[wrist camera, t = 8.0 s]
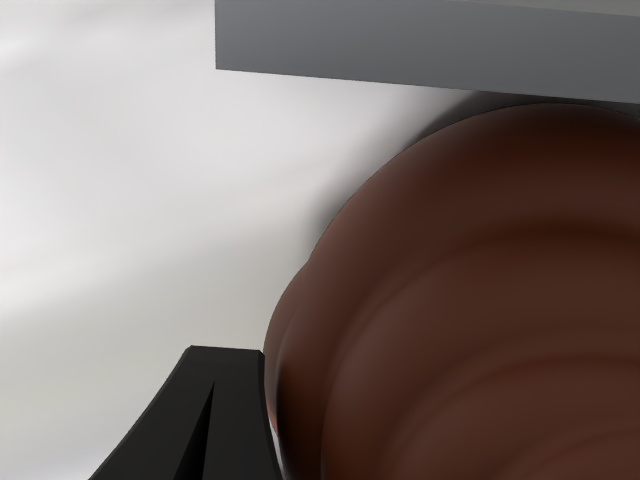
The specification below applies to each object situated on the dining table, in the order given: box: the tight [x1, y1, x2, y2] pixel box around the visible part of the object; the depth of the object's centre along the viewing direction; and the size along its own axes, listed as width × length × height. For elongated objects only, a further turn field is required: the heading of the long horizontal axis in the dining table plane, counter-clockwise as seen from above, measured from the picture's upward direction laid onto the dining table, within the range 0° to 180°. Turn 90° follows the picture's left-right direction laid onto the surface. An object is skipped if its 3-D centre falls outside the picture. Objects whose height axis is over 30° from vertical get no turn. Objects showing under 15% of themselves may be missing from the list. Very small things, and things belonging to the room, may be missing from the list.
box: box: [215, 0, 640, 104], centre depth 12 cm, size 14×14×3 cm
